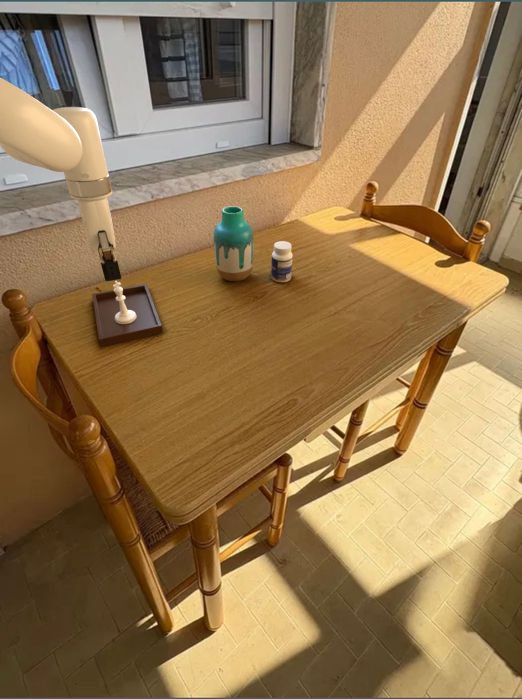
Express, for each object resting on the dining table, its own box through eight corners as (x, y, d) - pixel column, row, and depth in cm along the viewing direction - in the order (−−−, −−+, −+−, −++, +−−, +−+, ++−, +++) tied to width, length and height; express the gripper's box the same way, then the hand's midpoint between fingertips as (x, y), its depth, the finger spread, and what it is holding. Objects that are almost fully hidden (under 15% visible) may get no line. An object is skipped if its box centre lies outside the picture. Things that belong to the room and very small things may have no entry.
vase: (216, 288, 102) (211, 218, 90) (215, 269, 110) (210, 202, 98) (255, 286, 103) (256, 217, 91) (251, 267, 111) (251, 201, 99)
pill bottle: (269, 273, 109) (270, 240, 102) (289, 272, 109) (291, 239, 103) (272, 283, 105) (273, 250, 98) (292, 282, 105) (295, 249, 99)
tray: (101, 346, 83) (98, 339, 82) (94, 300, 97) (91, 293, 96) (163, 332, 88) (161, 325, 86) (148, 290, 101) (146, 283, 100)
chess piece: (111, 317, 91) (100, 280, 84) (130, 309, 93) (121, 273, 87) (121, 326, 88) (110, 289, 81) (140, 318, 91) (131, 282, 84)
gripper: (66, 175, 76) (89, 254, 87) (70, 203, 64) (96, 292, 75) (105, 172, 78) (123, 250, 89) (116, 198, 66) (135, 285, 77)
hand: (110, 269), depth 82 cm, fingers open, 9 cm apart
